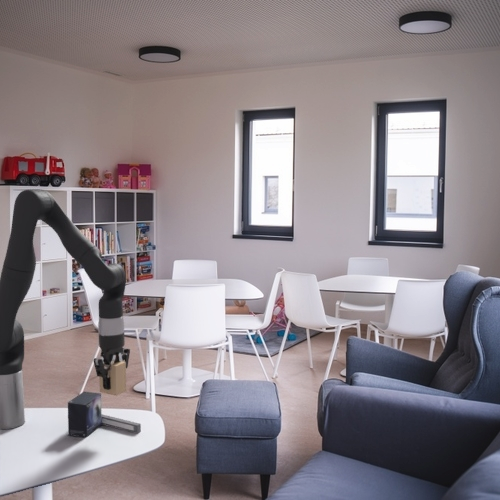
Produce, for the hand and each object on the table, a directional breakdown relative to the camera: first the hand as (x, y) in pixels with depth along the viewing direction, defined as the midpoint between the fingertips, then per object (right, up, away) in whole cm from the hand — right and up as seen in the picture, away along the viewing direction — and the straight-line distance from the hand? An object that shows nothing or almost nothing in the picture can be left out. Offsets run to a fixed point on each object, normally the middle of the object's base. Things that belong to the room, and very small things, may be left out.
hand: (113, 386), depth 198 cm
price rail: (-2, -14, +8) cm, 16 cm away
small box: (-9, -15, +5) cm, 18 cm away
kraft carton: (0, -2, 0) cm, 2 cm away
